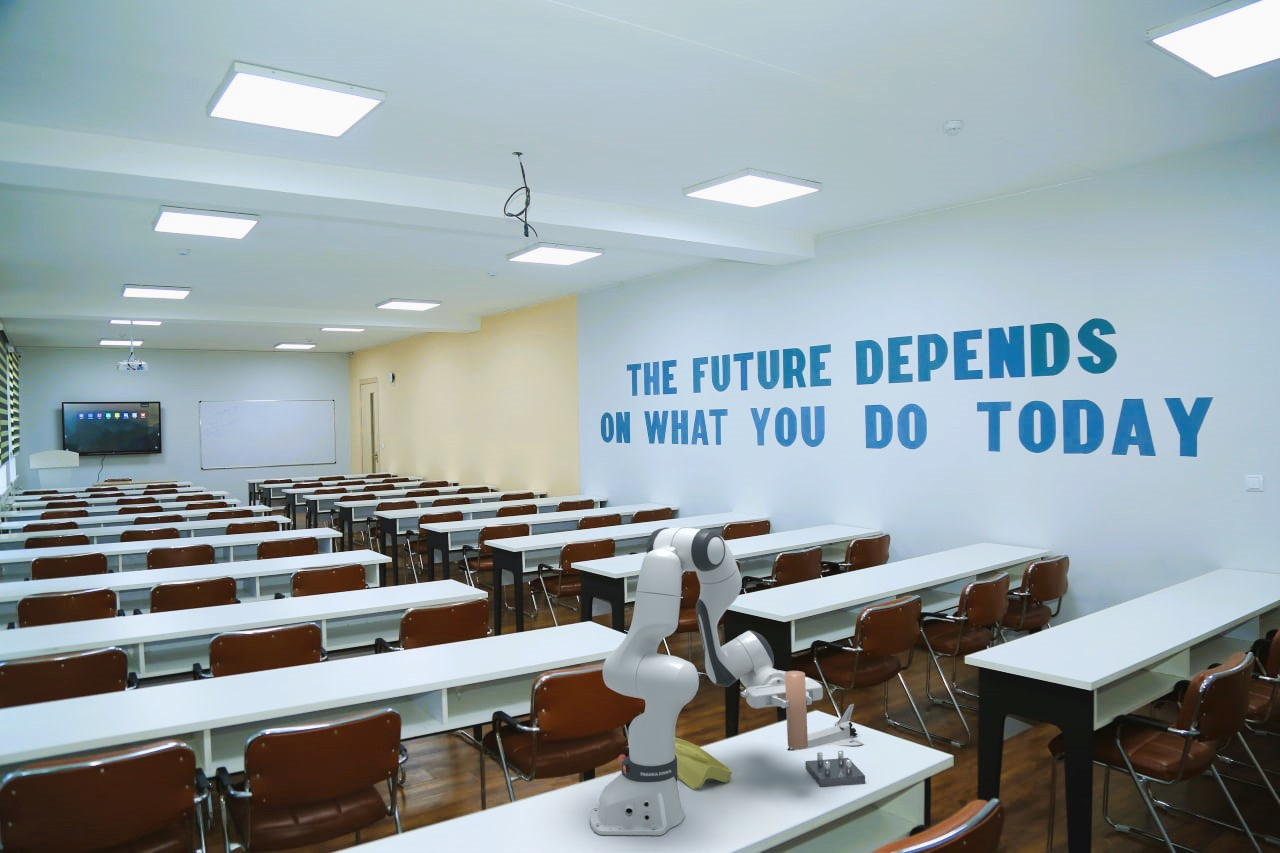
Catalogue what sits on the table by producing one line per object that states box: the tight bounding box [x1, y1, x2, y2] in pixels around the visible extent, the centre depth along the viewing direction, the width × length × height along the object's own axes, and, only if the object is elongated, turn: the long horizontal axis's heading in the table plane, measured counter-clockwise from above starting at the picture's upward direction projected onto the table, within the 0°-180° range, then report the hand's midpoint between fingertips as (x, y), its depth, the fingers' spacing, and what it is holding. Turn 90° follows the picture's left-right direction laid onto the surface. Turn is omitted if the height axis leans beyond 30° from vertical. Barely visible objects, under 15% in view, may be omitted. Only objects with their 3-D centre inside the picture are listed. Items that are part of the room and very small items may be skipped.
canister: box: [785, 670, 809, 750], centre depth 200 cm, size 5×5×18 cm
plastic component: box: [675, 736, 733, 790], centre depth 215 cm, size 20×7×10 cm
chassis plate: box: [804, 750, 866, 788], centre depth 210 cm, size 12×12×5 cm
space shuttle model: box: [787, 703, 865, 752], centre depth 234 cm, size 16×25×10 cm, turn 115°
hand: (797, 703), depth 200 cm, fingers closed on canister, 5 cm apart
